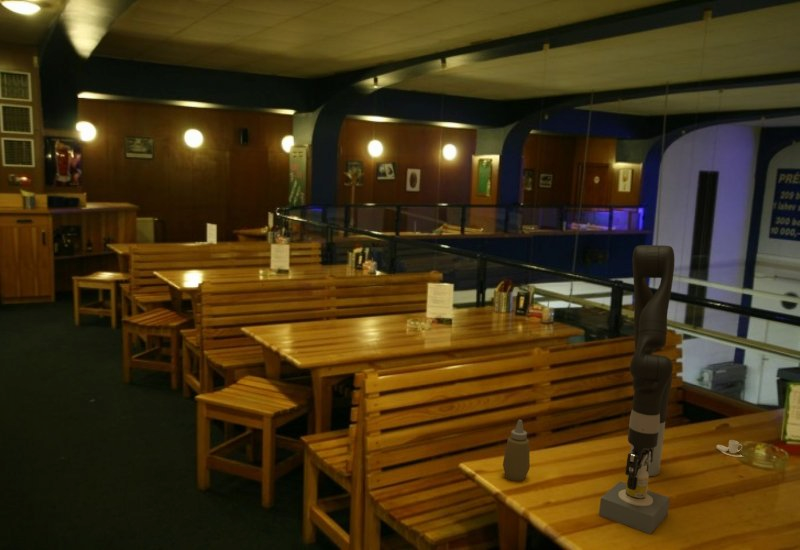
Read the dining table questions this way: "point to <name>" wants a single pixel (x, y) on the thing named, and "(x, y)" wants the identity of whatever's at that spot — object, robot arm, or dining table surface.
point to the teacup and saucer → (730, 448)
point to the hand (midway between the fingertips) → (637, 483)
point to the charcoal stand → (634, 508)
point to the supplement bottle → (639, 486)
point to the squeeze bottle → (517, 454)
